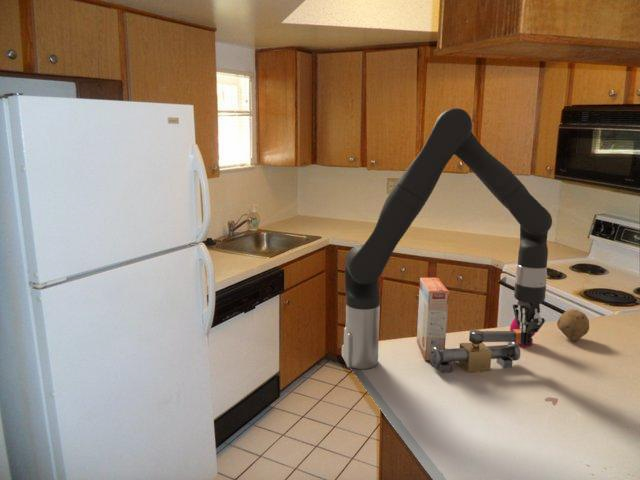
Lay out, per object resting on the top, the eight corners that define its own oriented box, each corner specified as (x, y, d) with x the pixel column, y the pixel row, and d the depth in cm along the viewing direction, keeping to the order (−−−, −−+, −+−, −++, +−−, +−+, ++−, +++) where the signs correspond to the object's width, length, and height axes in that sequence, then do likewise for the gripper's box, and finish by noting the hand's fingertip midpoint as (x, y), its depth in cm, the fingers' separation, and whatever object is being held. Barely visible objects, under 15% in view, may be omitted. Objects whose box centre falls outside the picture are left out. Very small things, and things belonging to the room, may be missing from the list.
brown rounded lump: (549, 338, 160) (553, 308, 158) (564, 331, 166) (567, 302, 164) (578, 348, 153) (582, 316, 151) (592, 340, 159) (596, 310, 157)
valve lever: (471, 344, 137) (472, 334, 137) (467, 339, 141) (468, 329, 140) (528, 344, 138) (529, 333, 137) (522, 338, 141) (523, 328, 141)
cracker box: (445, 361, 144) (449, 291, 140) (424, 361, 144) (427, 290, 140) (435, 341, 158) (439, 276, 153) (416, 341, 158) (419, 276, 153)
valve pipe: (437, 375, 136) (438, 349, 134) (428, 365, 142) (430, 340, 140) (519, 368, 140) (522, 343, 138) (508, 359, 146) (510, 335, 144)
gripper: (558, 288, 127) (552, 354, 130) (531, 275, 139) (526, 334, 143) (529, 289, 126) (524, 355, 129) (505, 275, 139) (500, 335, 142)
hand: (525, 344), depth 136 cm, fingers closed
